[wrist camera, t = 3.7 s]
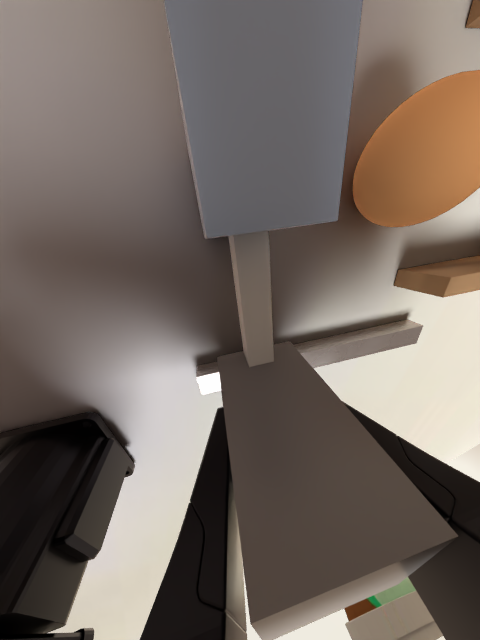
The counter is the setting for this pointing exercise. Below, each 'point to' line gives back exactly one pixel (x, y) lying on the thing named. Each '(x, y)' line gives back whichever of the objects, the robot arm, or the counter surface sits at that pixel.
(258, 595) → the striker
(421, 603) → the food container
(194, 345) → the counter surface
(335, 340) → the rail
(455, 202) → the ball
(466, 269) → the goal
